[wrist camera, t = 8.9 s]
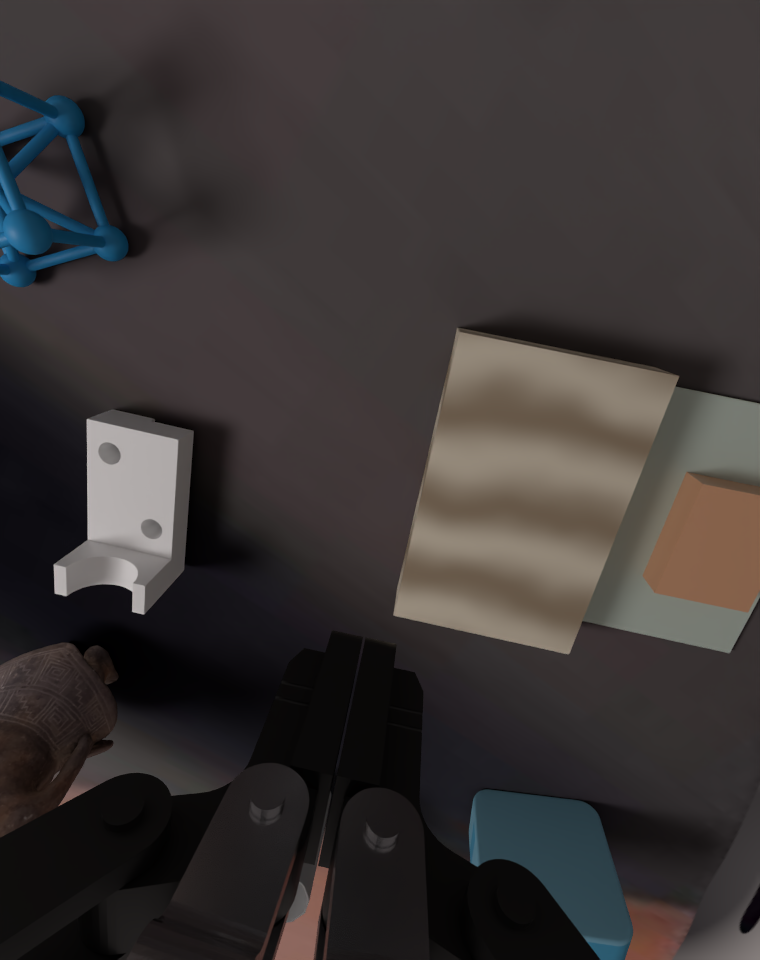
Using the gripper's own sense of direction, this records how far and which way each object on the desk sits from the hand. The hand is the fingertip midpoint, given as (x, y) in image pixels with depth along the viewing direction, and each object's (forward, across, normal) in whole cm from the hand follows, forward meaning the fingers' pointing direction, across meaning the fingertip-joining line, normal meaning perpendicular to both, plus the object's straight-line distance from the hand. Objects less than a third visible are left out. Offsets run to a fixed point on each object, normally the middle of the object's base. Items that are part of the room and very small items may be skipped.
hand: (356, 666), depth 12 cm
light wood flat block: (+29, -9, +5) cm, 30 cm away
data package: (+29, -20, +38) cm, 52 cm away
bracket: (+29, +20, +12) cm, 38 cm away
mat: (+29, -23, +5) cm, 37 cm away
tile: (+27, -24, +6) cm, 37 cm away
